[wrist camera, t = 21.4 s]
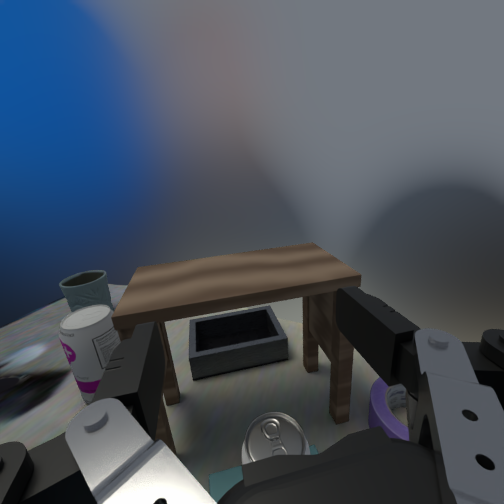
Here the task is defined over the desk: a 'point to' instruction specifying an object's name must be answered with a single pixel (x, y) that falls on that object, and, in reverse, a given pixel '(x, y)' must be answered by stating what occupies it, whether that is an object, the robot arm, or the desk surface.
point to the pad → (231, 479)
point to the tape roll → (387, 409)
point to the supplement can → (89, 345)
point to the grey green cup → (86, 290)
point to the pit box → (235, 342)
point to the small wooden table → (244, 295)
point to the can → (273, 437)
